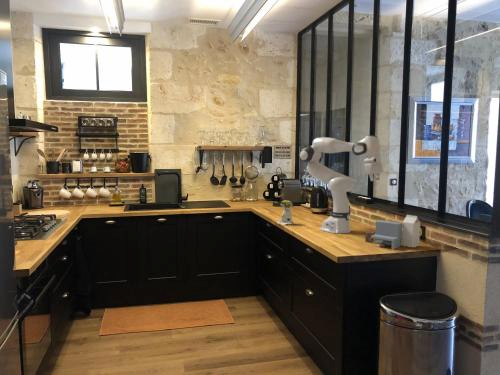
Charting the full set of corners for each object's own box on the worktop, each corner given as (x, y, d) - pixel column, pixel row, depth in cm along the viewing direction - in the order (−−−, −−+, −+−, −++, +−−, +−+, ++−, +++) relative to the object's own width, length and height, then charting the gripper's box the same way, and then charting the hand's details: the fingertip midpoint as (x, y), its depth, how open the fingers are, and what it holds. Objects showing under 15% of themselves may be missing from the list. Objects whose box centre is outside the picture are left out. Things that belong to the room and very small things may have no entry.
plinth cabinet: (370, 245, 246) (371, 222, 244) (379, 242, 255) (380, 220, 254) (393, 249, 237) (394, 225, 235) (401, 245, 246) (402, 222, 245)
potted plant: (284, 221, 324) (284, 198, 322) (297, 223, 315) (297, 200, 313) (274, 223, 316) (274, 200, 314) (287, 225, 307) (287, 201, 305)
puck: (378, 246, 245) (378, 243, 245) (381, 245, 248) (381, 242, 248) (385, 247, 242) (385, 244, 242) (387, 246, 245) (387, 243, 245)
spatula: (365, 241, 256) (365, 232, 255) (368, 240, 259) (368, 231, 259) (391, 246, 245) (392, 236, 245) (394, 245, 248) (394, 235, 248)
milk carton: (412, 248, 240) (413, 216, 238) (401, 245, 246) (403, 215, 244) (419, 246, 245) (420, 215, 243) (408, 244, 250) (409, 214, 248)
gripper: (375, 159, 277) (376, 179, 277) (362, 160, 261) (364, 181, 261) (384, 158, 272) (385, 179, 273) (372, 159, 257) (373, 181, 257)
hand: (375, 180), depth 267 cm, fingers open, 8 cm apart
